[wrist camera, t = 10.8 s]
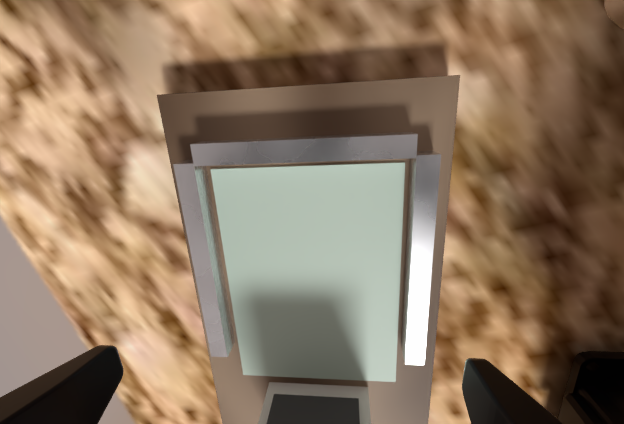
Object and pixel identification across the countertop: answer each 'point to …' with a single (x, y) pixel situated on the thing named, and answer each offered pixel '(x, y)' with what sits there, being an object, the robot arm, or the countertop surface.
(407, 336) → the rail guides
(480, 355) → the countertop surface
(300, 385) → the block
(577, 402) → the robot arm
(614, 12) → the metal grooved wheel
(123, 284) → the countertop surface
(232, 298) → the rail board
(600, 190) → the countertop surface
